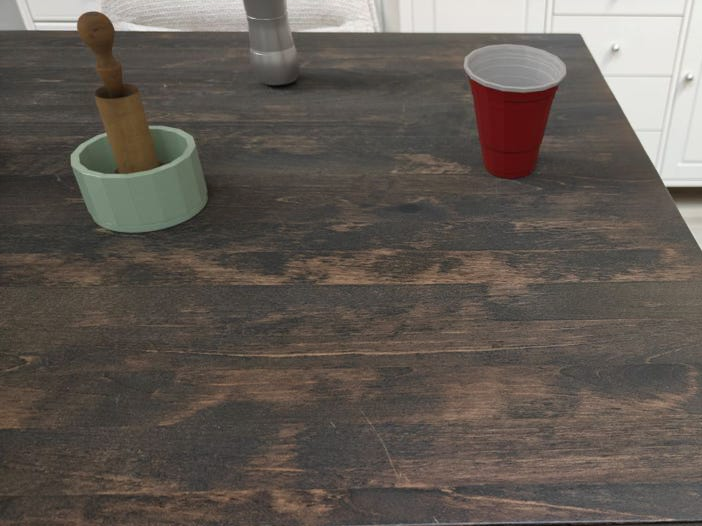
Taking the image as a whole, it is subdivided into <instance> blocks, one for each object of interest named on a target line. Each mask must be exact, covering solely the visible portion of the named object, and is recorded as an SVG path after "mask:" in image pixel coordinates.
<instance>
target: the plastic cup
mask: <svg viewBox="0 0 702 526" xmlns="http://www.w3.org/2000/svg"><path fill="white" fill-rule="evenodd" d="M463 69H464V72H465V73H466V74H467V77H468V81H469V85H470V90H471V95H472V99H473V106H474V114H475V121H476V126H477V127H476V128H477V135H478V140H479V142H480V148H481V155H482V163H483V165H484V168H485V170H486V171H487V172H488V173H489V174H491V175H493V176H495V177H499V178H503V179H519V178H524V177H526V176H528V175H530V174H531V173H532V172H533V171H535V166H536V165H537V161H538V157H539V154H540V149H541V145H542V143H543V141H544V136H545V133H546V128H547V124H548V120H549V116H550V112H551V109H552V106H553V102H554V99H555V97H556V94H557V91H558V89H559V86H560V84H561V82H563V80H564V79H565V78H566V75H567V66H566V63H564V62H563V61H562V59H560V58H559V56H557V55H555V54H553V53H551V52H548V51H547V50H545V49H541V48H537V47H535V46H534V47H533V46H529V45H524V44H523V45H522V44H513V43H512V44H510V43H502V44H492V45H491V44H490V45H486V46H483V47H480V48H476V49H474V50H472V51H471V52H470V53H469V54H467V55H466V56H464V62H463Z"/></svg>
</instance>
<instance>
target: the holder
mask: <svg viewBox="0 0 702 526" xmlns="http://www.w3.org/2000/svg"><path fill="white" fill-rule="evenodd" d="M148 126H149V130H150V133H151V137H152V141H153V144H154V147H155V151H156V154H157V158H158V161H160V162H162V163H164V164H165V165H163V166H160V167H157V168H155V169H152V170H149V171H143V172H137V173H131V174H113V173H114V171H115V170H116V169H117V165H116V162H115V159H114V156H113V152H112V149H111V146H110V143H109V140H108V137H107V134H106V132H103V133H101V134H97V135H95V136H93V137H91V138H89V139H87V140H85V141H84V142H83V143H80V144H79V145H78V146H77V147H76V148H75V150H74V151H73V152H72V153H71V154H70V166H71V169H72V171H73V174H74V177H75V179H76V182H77V185H78V187H79V190H80V193H81V196H82V199H83V201H84V203H85V207H86V209H87V211H88V213H89V214H90V217H91V218H92V221H93V222H94V223H95V224H97V225H98V226H100V227H102V228H103V229H106V230H110V231H112V232H117V233H118V232H119V233H128V234H129V233H130V234H137V233H149V232H155V231H161V230H165V229H168V228H172V227H174V226H178V225H180V224H182V223H184V222H187V221H188V220H191V219H193V218H194V217H195V216H196V215H197V214H199V213H200V212H201V211H202V210H203V209H204V208H205V207H206V206H207V203H208V200H209V192H208V188H207V183H206V180H205V175H204V172H203V168H202V164H201V163H202V162H201V160H200V159H201V158H200V155H199V152H198V151H199V150H198V147H197V145H196V141H195V138H194V136H193V135H191V134H189V133H188V132H187V131H184V130H183V129H181V128H176V127H173V126H172V127H171V126H167V125H148Z"/></svg>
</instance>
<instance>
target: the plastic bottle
mask: <svg viewBox="0 0 702 526" xmlns="http://www.w3.org/2000/svg"><path fill="white" fill-rule="evenodd" d="M242 4H243V5H242V6H243V8H244V12H245V17H246V21H247V29H248V39H249V46H250V47H249V61H250V67H251V70H252V73H253V76H254V78H256V80H258V82H260V83H261V84H263V85H268V86H269V85H270V86H281V85H282V86H283V85H284V86H285V85H288V84H291V83H294V82H295V81H296V80H298V77H299V76H300V72H301V61H300V57H299V53H298V50H297V47H296V45H295V42H294V38H293V33H292V29H291V26H290V21H289V13H288V4H287V0H242Z"/></svg>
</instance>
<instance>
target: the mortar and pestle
mask: <svg viewBox="0 0 702 526" xmlns="http://www.w3.org/2000/svg"><path fill="white" fill-rule="evenodd" d="M76 30H77V34H78V36H79V37H80V39H81V41H83V43H84V44H85V45H86V46H87V47H88V48H89V49H90V50H91V51H92V52H93V54H94V55H95V58H96V64H95V65H94V69H95V71H96V74H97V75H98V77H99V79H100V80H101V82H102V84H103V86H100V87H97V88H96V89H95V90H94V91H93V93H92V94H93V98H94V101H95V104H96V106H97V110H98V113H99V115H100V118H101V121H102V123H103V124H102V125H103V127H104V130H105V133H106V134H107V137H108V140H109V143H110V146H111V149H112V152H113V156H114V159H115V162H116V165H117V169H116V170H115V171H114V173H113V174H131V173H137V172H143V171H149V170H152V169H155V168H157V167H160V166H163V165H165V164H164V163H162V162H160V161H158V158H157V154H156V151H155V147H154V144H153V141H152V137H151V133H150V130H149V126H150V125H149V123H148V120H147V116H146V112H145V109H144V105H143V101H142V96H141V93H140V90H139V87H138V86H137V85H135V84H131V83H124V82H123V67H122V63H121V62H119V60H118V61H117V60H116V59H115V57H114V55H113V46H114V42H115V35H116V31H115V27H114V24H113V23H112V20H111V19H110V18H109V17H108V16H107V15H105V14H104V13H102V12H100V11H93V10H92V11H87V12H84V13H81V15H80V16H79V17H78V18H77V23H76Z"/></svg>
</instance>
